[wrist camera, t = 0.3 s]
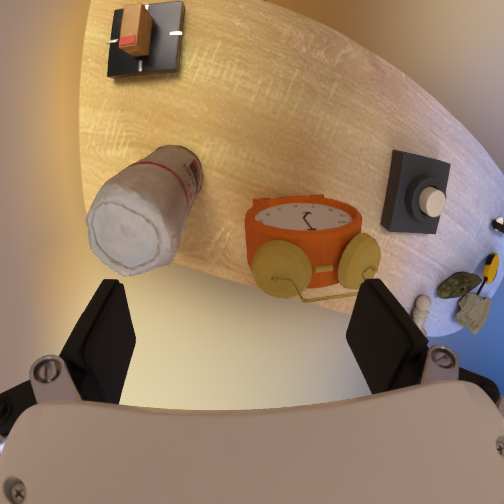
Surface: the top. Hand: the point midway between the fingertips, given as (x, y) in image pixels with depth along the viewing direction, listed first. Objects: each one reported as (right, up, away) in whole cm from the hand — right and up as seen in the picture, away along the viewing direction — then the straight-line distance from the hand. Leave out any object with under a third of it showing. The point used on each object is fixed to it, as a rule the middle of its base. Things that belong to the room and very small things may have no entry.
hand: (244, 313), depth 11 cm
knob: (-13, +28, +15) cm, 34 cm away
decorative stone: (+43, -4, +34) cm, 55 cm away
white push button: (+26, +10, +25) cm, 38 cm away
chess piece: (+34, -15, +40) cm, 55 cm away
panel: (-13, +29, +17) cm, 36 cm away
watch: (+54, +6, +32) cm, 63 cm away
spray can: (-10, +12, +26) cm, 30 cm away
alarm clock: (+6, +8, +29) cm, 31 cm away
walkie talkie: (+56, +1, +37) cm, 67 cm away
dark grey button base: (+26, +12, +29) cm, 41 cm away
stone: (+52, -17, +44) cm, 70 cm away
